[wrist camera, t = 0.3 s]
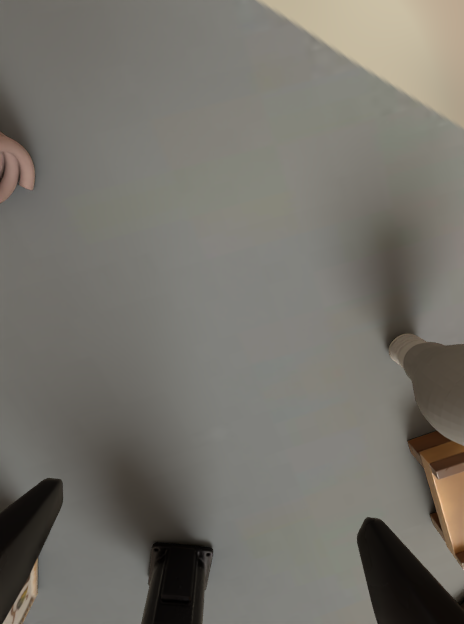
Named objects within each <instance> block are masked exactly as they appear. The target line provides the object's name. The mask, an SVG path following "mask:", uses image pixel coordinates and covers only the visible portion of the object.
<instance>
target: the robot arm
mask: <svg viewBox="0 0 464 624" xmlns="http://www.w3.org/2000/svg"><path fill="white" fill-rule="evenodd" d="M62 503H63V483H62V480H61V479H55V478H46V479H44V480H43V481H41V482H40V483H39V484H37V485H36V486H35V487H34V488H32V489H31V490H30V491H28V492H27V493H26V494H24V495H23V496H22V497H21V498H19V499H18V500H17V501H15V502H14V503H13V504H11V505H10V506H9V507H7V508H6V509H5V510H4V511H2V512H1V513H0V624H3V622H4V620H5V619H6V617H7V615H8V613H9V612H10V610H11V608H12V606H13V604H14V603H15V601H16V599H17V597H18V596H19V594H20V592H21V590H22V588H23V587H24V585H25V583H26V581H27V579H28V577H29V575H30V573H31V571H32V569H33V567H34V565H35V563H36V560H37V558H38V556H39V554H40V552H41V550H42V548H43V545H44V543H45V541H46V539H47V537H48V535H49V532H50V530H51V528H52V526H53V524H54V522H55V520H56V517H57V515H58V513H59V511H60V509H61V506H62ZM357 544H358V548H359V552H360V556H361V561H362V565H363V569H364V573H365V577H366V581H367V585H368V590H369V594H370V598H371V602H372V606H373V609H374V613H375V616H376V620H377V623H378V624H464V610H463V608H462V607H461V606H460V605H459V604H458V603H457V602H456V601H455V600H454V599H453V597H452V596H451V595H450V594H449V593H448V592H447V591H446V590H445V589H444V588H443V587H442V585H441V584H440V583H439V582H438V581H437V580H436V579H435V578H434V577H433V576H432V575H431V573H430V572H429V571H428V570H427V569H426V568H425V567H424V566H423V565H422V564H421V562H420V561H419V560H418V559H417V558H416V557H415V556H414V555H413V554H412V553H411V552H410V550H409V549H408V548H407V547H406V546H405V545H404V544H403V543H402V542H401V541H400V539H399V538H398V537H397V536H396V535H395V534H394V533H393V532H392V531H391V530H390V529H389V527H388V526H387V525H386V524H385V523H384V522H383V521H382V520H380V519H378V518H370V517H367V518H366V519H365V520H364V522H363V524H362V526H361V528H360V530H359V532H358V535H357ZM212 557H213V549H212V548H210V547H201V546H190V545H180V544H169V543H158V542H156V543H154V544H153V546H152V552H151V561H150V571H149V581H148V585H149V591H148V595H147V600H146V604H145V609H144V613H143V618H142V622H141V624H202V622H203V607H204V591H205V590H206V587H207V582H208V577H209V572H210V567H211V562H212Z"/></svg>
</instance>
